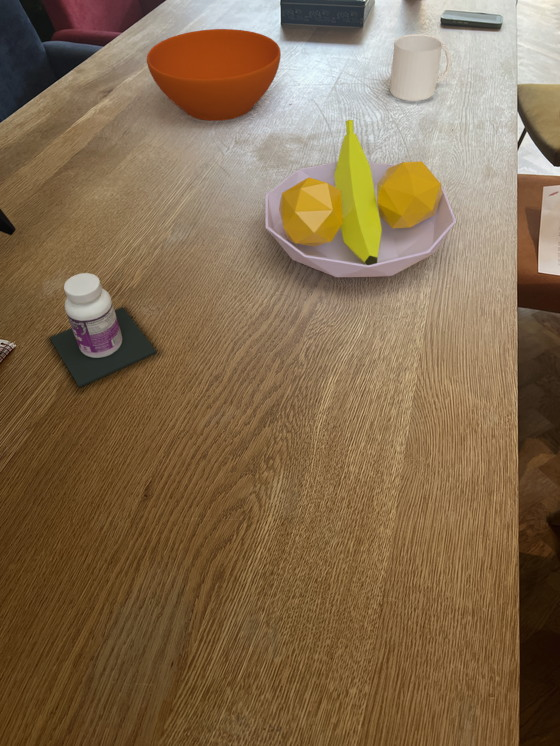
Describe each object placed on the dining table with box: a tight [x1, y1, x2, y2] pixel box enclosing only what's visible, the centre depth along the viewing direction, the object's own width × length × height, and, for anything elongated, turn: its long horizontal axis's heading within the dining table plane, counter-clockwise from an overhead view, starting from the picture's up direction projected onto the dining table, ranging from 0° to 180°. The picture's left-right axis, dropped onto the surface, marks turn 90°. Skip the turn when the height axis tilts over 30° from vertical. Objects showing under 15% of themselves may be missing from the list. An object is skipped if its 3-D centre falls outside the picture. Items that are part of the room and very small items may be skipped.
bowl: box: [146, 28, 282, 122], centre depth 119 cm, size 25×25×10 cm
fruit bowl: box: [264, 119, 457, 278], centre depth 86 cm, size 28×27×11 cm
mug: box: [389, 33, 452, 102], centre depth 121 cm, size 12×9×9 cm
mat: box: [49, 306, 157, 389], centre depth 76 cm, size 10×10×1 cm
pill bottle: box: [63, 272, 122, 358], centre depth 72 cm, size 5×5×10 cm
